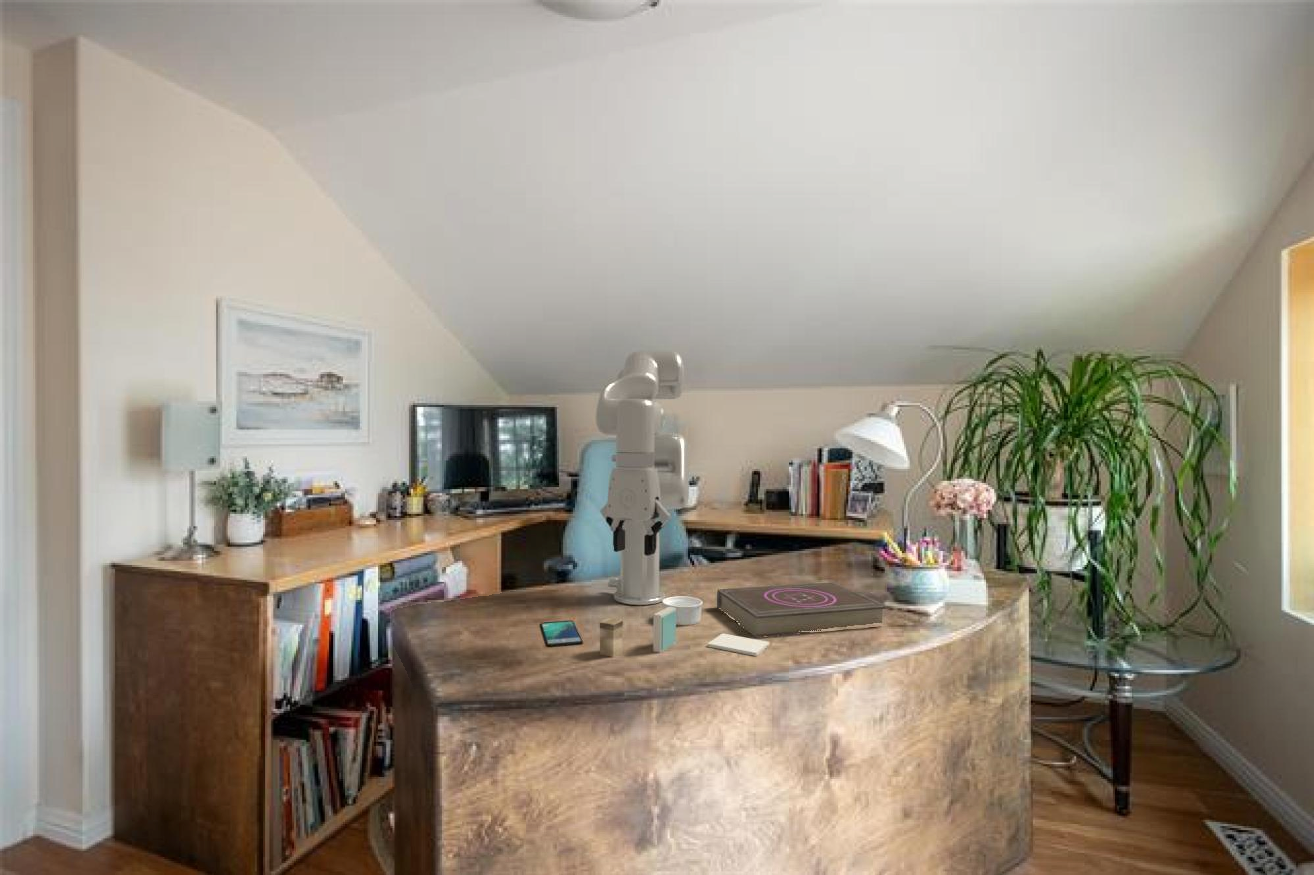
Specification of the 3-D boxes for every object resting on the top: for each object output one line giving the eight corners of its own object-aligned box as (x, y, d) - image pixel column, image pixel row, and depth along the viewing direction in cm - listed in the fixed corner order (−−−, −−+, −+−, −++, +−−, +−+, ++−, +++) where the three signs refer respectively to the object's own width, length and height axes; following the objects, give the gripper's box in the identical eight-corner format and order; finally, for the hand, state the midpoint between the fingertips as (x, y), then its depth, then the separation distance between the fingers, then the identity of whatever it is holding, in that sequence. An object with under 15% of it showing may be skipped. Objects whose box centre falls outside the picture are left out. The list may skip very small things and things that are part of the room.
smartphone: (546, 645, 121) (539, 622, 136) (546, 649, 121) (539, 625, 136) (583, 642, 123) (573, 619, 137) (583, 646, 123) (573, 623, 137)
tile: (653, 651, 120) (653, 614, 120) (668, 642, 125) (668, 606, 125) (661, 652, 119) (661, 615, 119) (676, 643, 124) (676, 607, 124)
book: (756, 640, 128) (756, 615, 128) (716, 609, 149) (716, 588, 149) (887, 628, 136) (887, 605, 136) (831, 601, 157) (832, 581, 157)
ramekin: (660, 615, 143) (660, 596, 143) (699, 614, 144) (699, 595, 144) (664, 627, 134) (664, 607, 134) (705, 626, 135) (705, 606, 135)
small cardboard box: (599, 654, 118) (599, 622, 118) (608, 649, 120) (609, 617, 120) (613, 657, 116) (613, 624, 116) (622, 652, 119) (622, 620, 119)
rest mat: (707, 646, 122) (707, 643, 122) (722, 636, 128) (722, 633, 128) (756, 656, 117) (756, 652, 117) (769, 645, 123) (769, 641, 123)
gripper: (588, 461, 126) (587, 551, 126) (664, 464, 117) (663, 560, 118) (609, 459, 132) (608, 545, 133) (683, 462, 124) (682, 554, 124)
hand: (634, 551), depth 125 cm, fingers open, 6 cm apart
